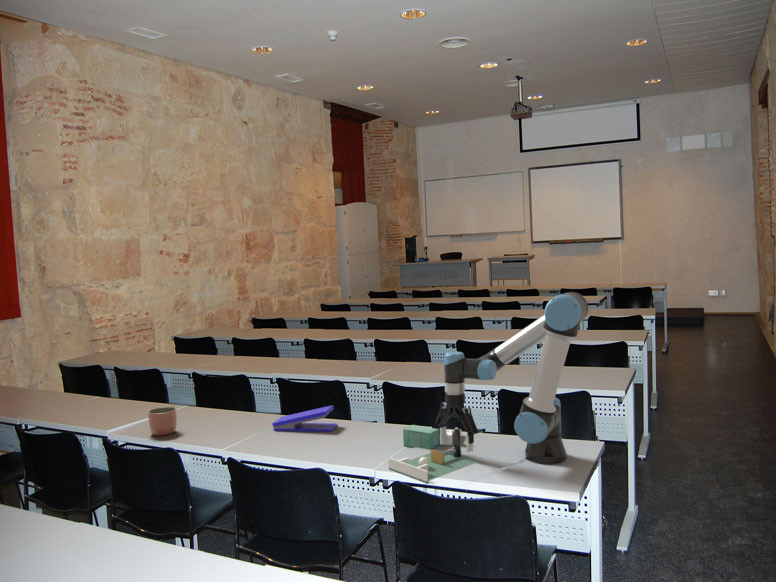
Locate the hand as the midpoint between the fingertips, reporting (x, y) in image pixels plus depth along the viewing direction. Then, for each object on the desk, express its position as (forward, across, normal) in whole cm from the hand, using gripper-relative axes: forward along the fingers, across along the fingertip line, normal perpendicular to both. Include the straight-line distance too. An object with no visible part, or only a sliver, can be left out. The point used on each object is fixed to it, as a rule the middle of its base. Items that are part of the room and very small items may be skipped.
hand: (456, 447), depth 240 cm
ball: (+1, 0, +17) cm, 17 cm away
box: (+5, +20, -1) cm, 21 cm away
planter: (+6, +123, +66) cm, 139 cm away
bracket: (+5, +15, -13) cm, 20 cm away
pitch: (+4, 0, +12) cm, 13 cm away
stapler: (+5, +79, +17) cm, 81 cm away
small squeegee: (+3, 0, +5) cm, 6 cm away
